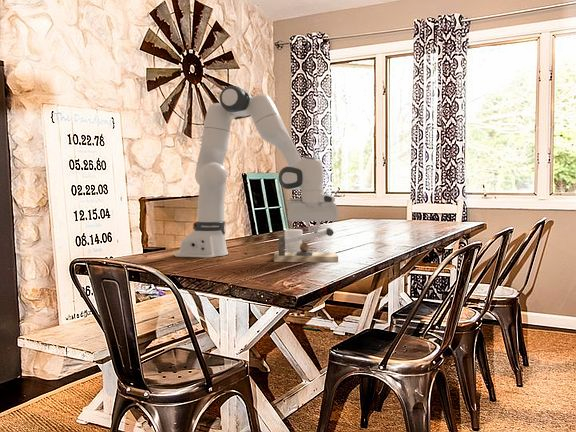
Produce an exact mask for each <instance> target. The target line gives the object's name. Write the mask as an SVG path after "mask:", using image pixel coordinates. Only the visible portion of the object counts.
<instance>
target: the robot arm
mask: <svg viewBox="0 0 576 432" xmlns="http://www.w3.org/2000/svg"><path fill="white" fill-rule="evenodd" d="M249 117H251V119H252V122H253V124H254V127H255V128H256V131H257V133H258V134H259V136H260V137H261V139H262V140H263V141H265V142H266V143H269V144H270V145H272V146H274V147H276V148H277V149H278V150H279V151H280V152H281V154H282V155H283V157H284V159H285V161H286V163H287V166H285V167H283V168H281V169H280V171H279V172H278V177H277V178H278V184H279V185H280V186H281V187H282V188H283V189H285V190H292V191H293V190H294V191H295V190H297V191H298V190H299V191H301V193H300V194H301V197H298V198H296V197H295V198H290V199H288V200H287V201H286V209H287V221H288V222H305V225H306V227H307V228H308V234H310V233H317V232H319V226H320V225H321V222H336V221H338V220H339V210H338V206H337V205H338V204H336V203H335V201H336V198H335V196H332V195H330V194H326V193H324V191H325V190H324V185H323V184H324V183H323V182H324V167H323V162H322V160H321V159H320V158H318V157H314V156H313V157H311V156H304V157H302V156H301V154H300V152H299V151H298V148H297V146H296V144H295V142H294V141H293V139H292V137H291V136H290V134H289V131H288V130H287V128H286V125H285V123H284V121H283V119H282V117H281V114H280V113H279V110H278V108H277V106H276V104H275V103H274V101H273V100H272V98H271V97H270V96H269V95H267V94H264V93H259V94H256V95H254V96H253V94H252V93H249V92H248V91H247V90H245V89H243V88H242V87H239V86H236V85H228V86H225V87H224V88H223V89H222V90H221V92H220V94H219V102H215V103H212V104H211V105H209V106H208V107H207V111H206V115H205V119H204V123H203V130H202V137H201V142H200V143H201V144H200V150H199V154H198V158H197V161H196V168H195V172H194V178H195V180H196V183H197V184H198V185H199V189H198V200H197V221H195V222H193V224H192V229H193V231H191V232H189V234H187V235H186V236H185V237H184V238H182V240H181V241H180V246H179V250H177V251H175V252H174V256H175V257H177V258H178V257H180V258H184V257H185V258H214V257H221V256H226V255H229V252H228V248H227V243H226V231H227V230H226V229H227V226H226V221H225V197H226V190H227V189H226V188H227V178H228V174H227V170H226V168H225V167H224V162H225V158H226V154H227V151H228V148H229V147H228V146H229V140H230V131H231V126H232V125H231V124H232V122H233V119H234V120H240V119H245V118H249ZM310 222H316V226H315V227H313V228H312V227H310Z"/></svg>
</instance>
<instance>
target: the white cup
mask: <svg viewBox="0 0 576 432" xmlns="http://www.w3.org/2000/svg"><path fill="white" fill-rule="evenodd" d="M303 233H304V231H303V229H300V228H299V229H298V228H288V229H287V228H286V229H284V236H285V239H287V238H292V237H297V236H301V235H303ZM302 243H303V240H301V241H296V242H292V243H287V244H285V252H297V251H301V250H300V245H301V244H302Z"/></svg>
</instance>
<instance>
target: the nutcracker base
mask: <svg viewBox="0 0 576 432" xmlns="http://www.w3.org/2000/svg"><path fill="white" fill-rule="evenodd" d="M309 247H310V245H309V244H308V243H306V242H302V244H301V245H300V250H301V251H297V252H286V246H285V235H283V236H282V235H280V236H278V252H276V251H275V252H274V254H273V262H274V263H317V262H318V263H321V262H322V263H330V262H331V263H334V262H335V263H338V262H339V255H338V254H337V253H336V251H333V252H331V251H329V252H327V251H326V252H325V251H324V252H322V251H321V252H317V251H316V252H314V251H313V252H312V250H309Z"/></svg>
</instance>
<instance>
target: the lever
mask: <svg viewBox="0 0 576 432" xmlns="http://www.w3.org/2000/svg"><path fill="white" fill-rule="evenodd" d="M333 235H334V230H333V229H332V228H331V227H327V228H326V229H325V230H321V231H318V232H317V233H314V232H312V233H307V234H306V233H305V234H302V235H301V236H297V237H292V238H287V239H285V244H287V243H292V242H296V241H301V240H302V241H304V240H309V239H310V240H311V239H313V238H320V237H323V236H329V237H331V236H333Z"/></svg>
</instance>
